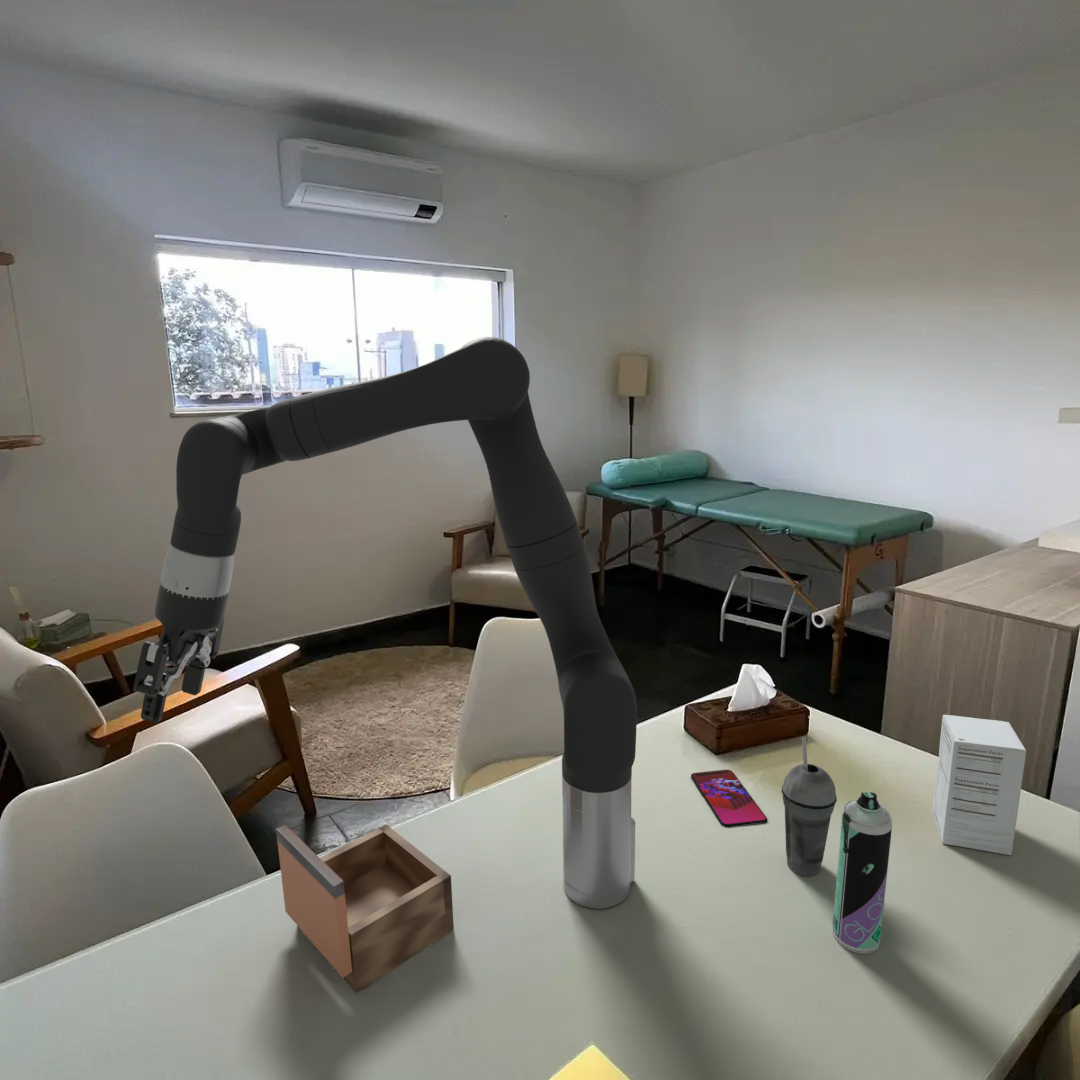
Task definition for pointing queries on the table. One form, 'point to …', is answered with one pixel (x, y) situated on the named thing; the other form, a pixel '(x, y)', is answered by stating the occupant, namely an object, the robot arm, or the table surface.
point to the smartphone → (728, 798)
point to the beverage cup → (807, 815)
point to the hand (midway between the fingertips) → (171, 705)
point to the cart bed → (389, 902)
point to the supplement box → (978, 783)
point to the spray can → (862, 874)
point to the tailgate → (315, 899)
